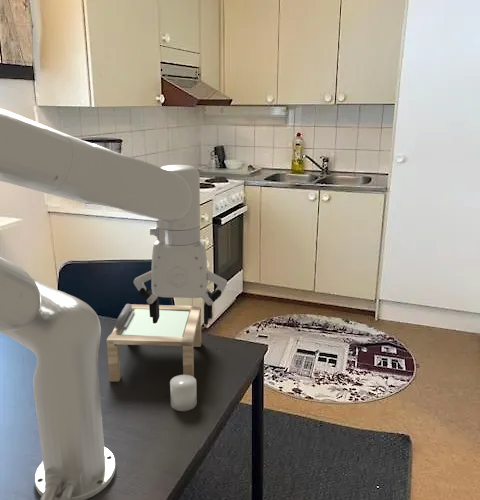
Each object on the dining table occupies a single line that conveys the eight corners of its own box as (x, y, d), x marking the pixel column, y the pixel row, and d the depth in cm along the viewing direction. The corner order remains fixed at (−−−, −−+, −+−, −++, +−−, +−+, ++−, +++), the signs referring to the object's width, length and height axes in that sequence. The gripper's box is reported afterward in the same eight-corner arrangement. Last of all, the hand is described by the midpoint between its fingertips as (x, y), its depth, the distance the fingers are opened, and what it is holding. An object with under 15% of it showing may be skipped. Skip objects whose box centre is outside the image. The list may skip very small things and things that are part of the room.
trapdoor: (181, 341, 107) (181, 328, 106) (112, 338, 107) (111, 324, 106) (189, 315, 119) (189, 303, 118) (127, 312, 120) (126, 300, 119)
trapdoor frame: (192, 383, 107) (192, 342, 104) (109, 381, 108) (106, 339, 105) (201, 342, 124) (200, 306, 121) (129, 340, 125) (127, 304, 122)
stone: (195, 411, 98) (194, 389, 97) (168, 410, 98) (168, 388, 97) (198, 396, 103) (197, 375, 102) (172, 395, 103) (172, 374, 102)
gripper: (126, 239, 86) (131, 329, 92) (226, 242, 86) (225, 331, 91) (136, 228, 94) (140, 311, 99) (228, 230, 93) (227, 313, 99)
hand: (181, 320), depth 95 cm, fingers open, 9 cm apart
